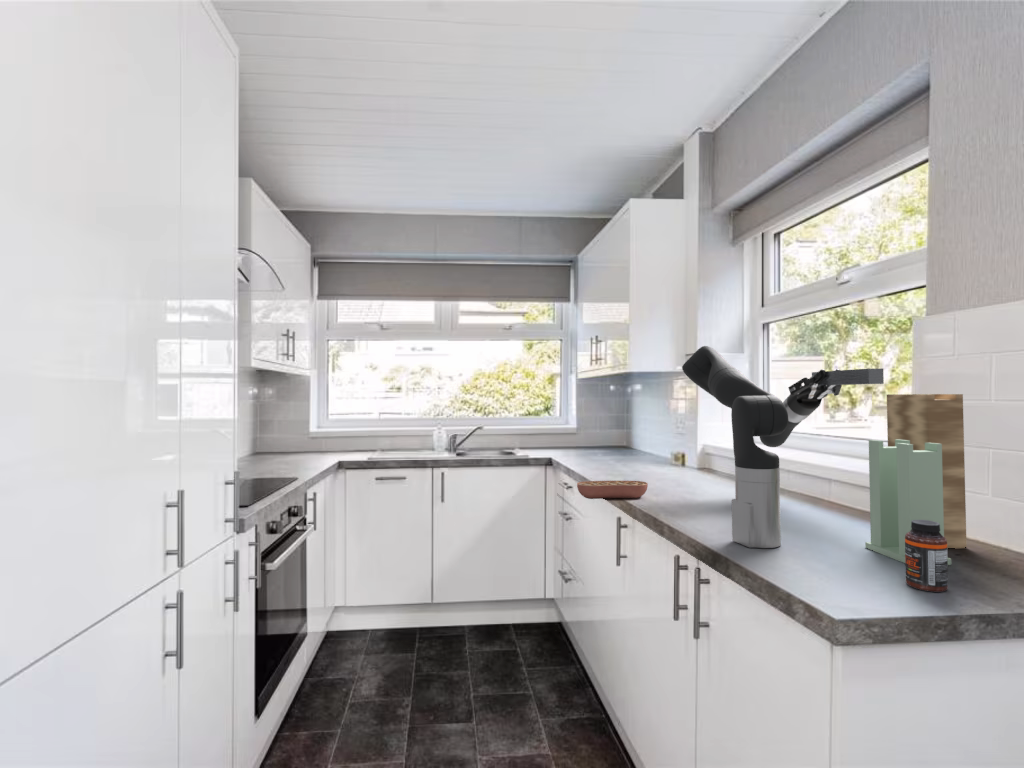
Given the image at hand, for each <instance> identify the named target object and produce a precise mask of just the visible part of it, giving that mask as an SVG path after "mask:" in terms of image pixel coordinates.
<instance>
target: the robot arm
mask: <svg viewBox="0 0 1024 768" xmlns="http://www.w3.org/2000/svg"><path fill="white" fill-rule="evenodd" d="M681 369H682V372H683V374H685V376H687V378H688V379H689V380H690V381H692V382H693V383H694V384H695V385H697V386H698V387H699V388H701V389H702V390H703V391H705V392H707V394H709V395H711V396H712V397H713V398H715V399H716V401H718V402H719V403H720V404H722V405H724V406H725V407H727V408H730V409H731V429H732V431H731V432H732V443H733V445H732V446H733V448H732V449H733V455H734V471H735V472H734V478H735V480H734V481H735V482H734V485H735V486H734V489H735V498H732V499H731V534H732V536H731V537H732V540H731V541H732V542H734V543H738V544H740V545H742V546H745V547H747V548H759V549H774V548H777V547H778V548H779V547H780V546H781V545H782V538H781V537H782V536H781V535H782V533H781V532H782V531H781V529H782V528H781V491H780V490H781V487H780V480H781V479H780V458H779V455H778V454H777V453H776V452H775V453H774V452H771V451H769V450H765V449H762V448H761V447H759V446H758V445H756V443H755V439H754V437H759V439H760V442H761V443H762V444H763V445H764V446H766V447H768V448H777V447H780V446H782V445H783V444H784V443H785V442H786V441H787V440H788V438H789V437H790V436H791V434H792V432H793V431H794V429H795V428H796V427H797V426H799V424H800V423H801V422H802V421H805V419H807V418H808V417H809V416H811V414H812V413H814V411H816V409H818V408H819V407H820V405H821V404H822V401H823V399H824V398H826V397H827V396H829V395H830V394H831V395H832V394H833V396H834V397H835V396H838V395H840V392H841V389H842V386H843V385H818V383H820V382H821V381H822V380H823V379H824V378H825V377H826V376H827V375H826V372H825V371H826V370H825V368H824V369H820V370H819V371H816V372H817V373H816V374H815V375H814V376H812V375H811V376H810V378H808V377H803V378H802V379H800V380H797V382H795V383H793V384H792V385H790V386H789V387H788V388H787V389H788V390H789V393H790V394H789V395H788V396H787V397H786V398H784V401H782V400H781V399H780V398H779V397H778V396H777V395H775V394H773V393H770V392H769V391H766V390H765V389H763V388H761V387H760V386H758V385H757V384H756V383H755V382H754V381H752V380H750V379H749V378H748V377H747V376H746V375H745V374H744V373H742V371H740V370H738V369H737V368H736V367H734V366H733V365H731V364H730V363H729V362H728V361H727V360H726V359H725V358H724V357H723V356H722V355H721V354H720V353H719V352H718V351H717V350H716V349H714V348H713V347H711V346H709V345H704V346H700V347H699V348H698V349H697V350H696V351H694V353H693V354H692V355H691V356H689V358H688V359H687V360H686V361H685V362H684V364H682V366H681ZM840 370H841V369H839V368H838V369H835V370H834V371H840ZM803 384H804V385H803Z"/></svg>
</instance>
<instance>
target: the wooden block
mask: <svg viewBox="0 0 1024 768" xmlns="http://www.w3.org/2000/svg"><path fill="white" fill-rule="evenodd" d="M886 419H887V421H886V423H887V424H886V425H887V428H886V429H887V447H890V446H895V439H900V440H909V441H910V444H913V450H925V443H938V444H942V472H943V514H944V537H945V538H946V540H947V550H949V549H948V548H955V549H966V548H965V547H967V546H968V545H967V515H966V513H967V512H966V511H967V510H966V509H967V507H966V506H967V505H966V473H965V470H966V469H965V426H964V394H963V393H961V394H960V393H927V394H926V393H924V394H923V393H915V394H912V393H911V394H909V393H908V394H900V393H899V394H893V393H892V394H886Z"/></svg>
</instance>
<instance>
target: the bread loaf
mask: <svg viewBox="0 0 1024 768" xmlns="http://www.w3.org/2000/svg"><path fill="white" fill-rule="evenodd" d="M648 484H649V483H648V482H646V481H642V480H641V481H640V480H589V481H588V480H587V481H586V480H585V481H579V482H577V483H576V486H577V490H578V493H579V494H580V495H581V496H582V497H583V498H585V499H588V500H595V499H597V500H598V499H599V500H600V499H601V500H603V499H639V498H641V497H642V496H644V495H645V494H646V492H647V490H648Z"/></svg>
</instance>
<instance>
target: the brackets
mask: <svg viewBox="0 0 1024 768" xmlns="http://www.w3.org/2000/svg"><path fill="white" fill-rule="evenodd" d="M868 475H869V476H868V477H869V513H870V516H869V517H870V518H869V519H870V521H869V522H870V541H868V542H867V541H865V546H864V547H865V549H867V548H868V550H871V551H872V550H873V552H874V553H875V552H876V553H878V554H880V555H883V556H885V557H888V558H891V559H893V560H896V561H899V562H900V563H903V564H905V535H906V534H907V533H908V532H910V531H911V529H912V528H911V521H912V520H929V521H934V522H937V523H939V524H940V531H939V532H940V534H941V535H942V536H944V514H943V472H942V444H938V443H925V450H913V444H910V441H909V440H900V439H895V446H890V447H888V446H884V441H883V440H878V439H869V440H868ZM951 565H952V558H950V557H948V566H951Z"/></svg>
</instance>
